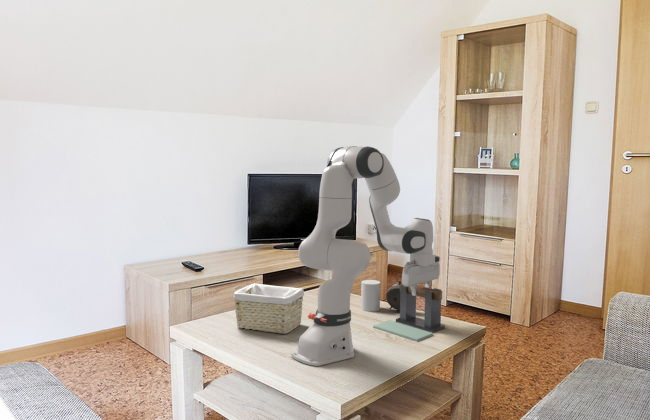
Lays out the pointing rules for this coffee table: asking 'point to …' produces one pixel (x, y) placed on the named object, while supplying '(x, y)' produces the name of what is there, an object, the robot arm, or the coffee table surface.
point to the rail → (421, 290)
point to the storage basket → (268, 308)
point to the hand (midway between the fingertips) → (420, 293)
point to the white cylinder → (370, 295)
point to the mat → (403, 330)
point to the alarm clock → (394, 296)
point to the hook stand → (409, 311)
